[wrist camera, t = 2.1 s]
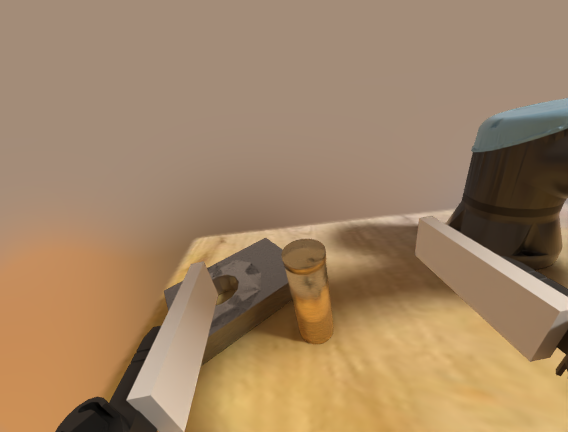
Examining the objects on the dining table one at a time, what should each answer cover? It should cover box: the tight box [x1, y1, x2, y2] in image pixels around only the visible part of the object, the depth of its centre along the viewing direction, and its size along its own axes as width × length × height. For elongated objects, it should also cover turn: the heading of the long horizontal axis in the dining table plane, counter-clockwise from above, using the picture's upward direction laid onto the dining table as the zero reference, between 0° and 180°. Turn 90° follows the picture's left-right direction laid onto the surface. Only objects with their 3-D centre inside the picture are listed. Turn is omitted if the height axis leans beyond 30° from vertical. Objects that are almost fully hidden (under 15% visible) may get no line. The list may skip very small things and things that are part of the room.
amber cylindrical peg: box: [281, 239, 333, 344], centre depth 28 cm, size 5×5×14 cm
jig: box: [164, 238, 292, 366], centre depth 38 cm, size 22×15×4 cm
